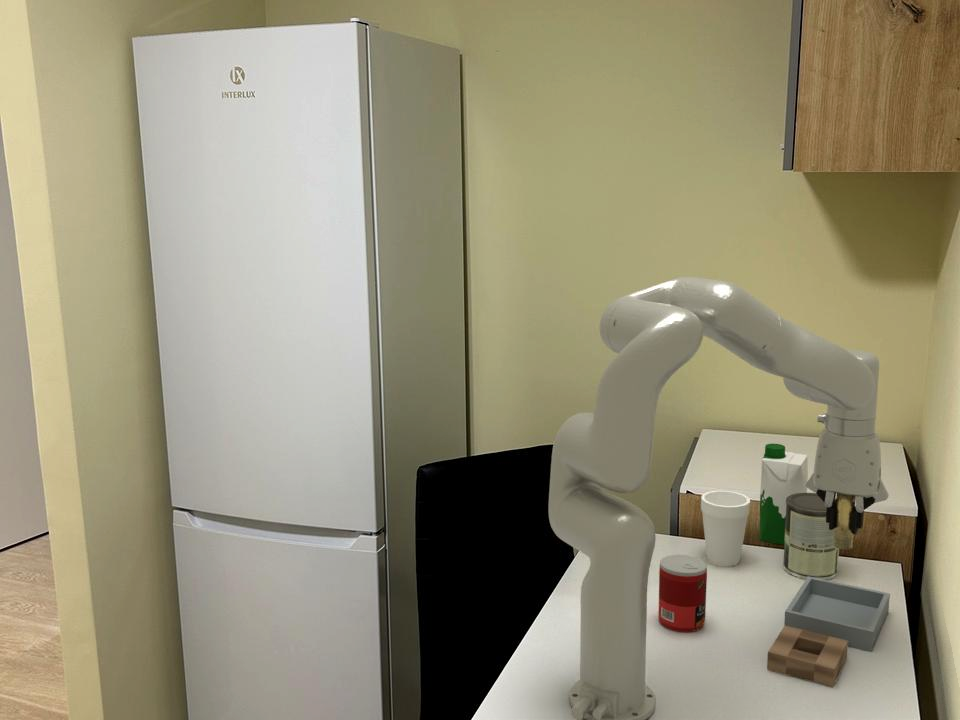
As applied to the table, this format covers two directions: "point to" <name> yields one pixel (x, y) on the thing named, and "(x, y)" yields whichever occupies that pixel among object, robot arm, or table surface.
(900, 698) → the table surface
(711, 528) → the foam cup
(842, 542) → the pin
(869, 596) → the pin tray
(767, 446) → the milk carton
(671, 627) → the canned food
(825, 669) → the pin bracket
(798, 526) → the coffee can
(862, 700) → the table surface
